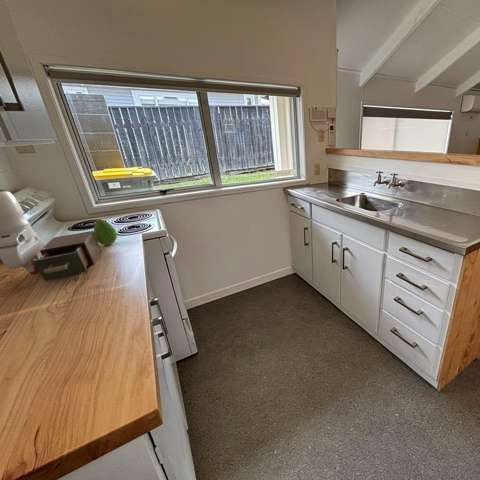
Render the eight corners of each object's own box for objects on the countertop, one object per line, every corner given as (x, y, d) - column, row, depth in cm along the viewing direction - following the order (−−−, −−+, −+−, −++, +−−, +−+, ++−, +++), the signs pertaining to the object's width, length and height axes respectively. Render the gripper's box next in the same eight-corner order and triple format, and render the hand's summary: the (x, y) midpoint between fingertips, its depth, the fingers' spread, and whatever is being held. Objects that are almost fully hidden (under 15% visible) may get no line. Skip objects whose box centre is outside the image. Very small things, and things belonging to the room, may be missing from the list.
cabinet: (94, 264, 100) (84, 242, 96) (51, 273, 95) (39, 250, 91) (101, 251, 112) (93, 230, 108) (64, 258, 106) (53, 237, 103)
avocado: (103, 249, 114) (92, 223, 109) (95, 246, 118) (85, 221, 113) (123, 242, 120) (114, 218, 115) (115, 239, 124) (106, 216, 119)
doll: (30, 274, 95) (23, 261, 93) (33, 271, 97) (26, 258, 95) (40, 272, 96) (33, 259, 94) (42, 269, 98) (35, 257, 96)
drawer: (83, 277, 89) (73, 257, 86) (39, 287, 84) (27, 267, 81) (94, 257, 104) (87, 239, 101) (57, 265, 99) (48, 246, 96)
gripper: (17, 227, 97) (34, 259, 103) (-14, 246, 81) (9, 283, 86) (39, 224, 100) (55, 255, 106) (14, 241, 84) (35, 277, 89)
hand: (34, 268), depth 96 cm, fingers open, 3 cm apart
